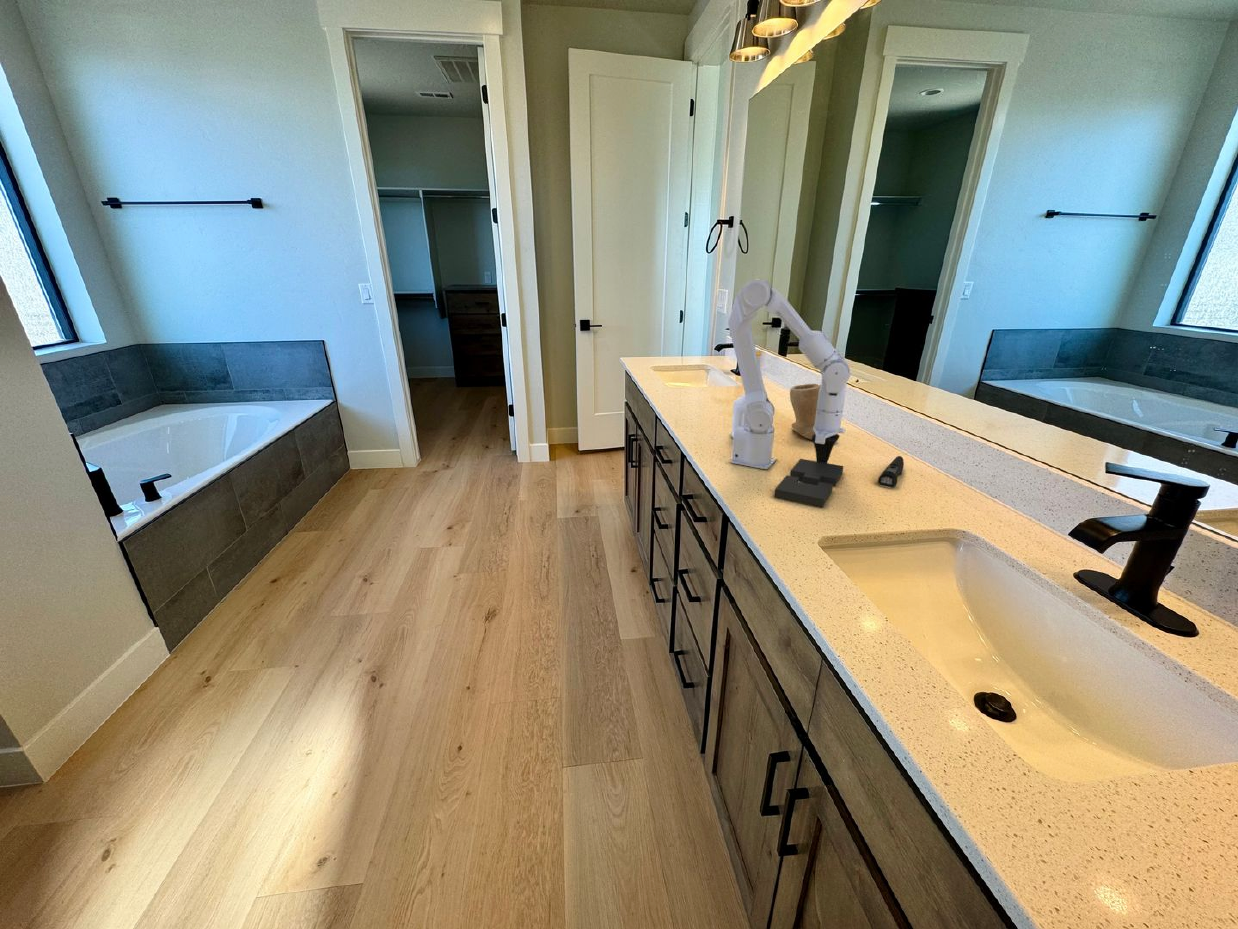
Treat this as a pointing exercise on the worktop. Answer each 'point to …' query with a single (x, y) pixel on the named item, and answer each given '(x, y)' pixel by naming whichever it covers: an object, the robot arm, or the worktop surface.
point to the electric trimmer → (891, 473)
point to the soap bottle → (739, 411)
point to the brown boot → (804, 408)
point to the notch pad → (803, 492)
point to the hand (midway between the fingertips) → (821, 463)
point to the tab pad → (817, 472)
